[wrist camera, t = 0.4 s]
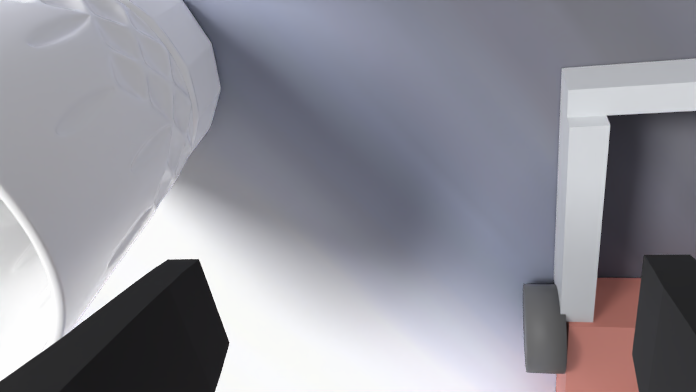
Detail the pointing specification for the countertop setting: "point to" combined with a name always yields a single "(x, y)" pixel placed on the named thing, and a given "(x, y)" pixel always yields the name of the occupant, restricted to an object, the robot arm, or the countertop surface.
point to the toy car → (594, 230)
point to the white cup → (88, 148)
